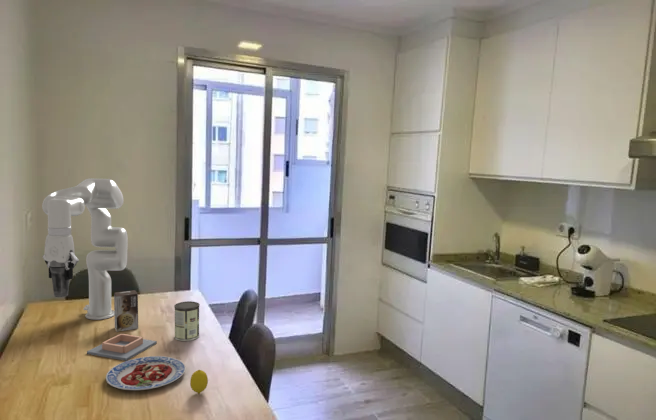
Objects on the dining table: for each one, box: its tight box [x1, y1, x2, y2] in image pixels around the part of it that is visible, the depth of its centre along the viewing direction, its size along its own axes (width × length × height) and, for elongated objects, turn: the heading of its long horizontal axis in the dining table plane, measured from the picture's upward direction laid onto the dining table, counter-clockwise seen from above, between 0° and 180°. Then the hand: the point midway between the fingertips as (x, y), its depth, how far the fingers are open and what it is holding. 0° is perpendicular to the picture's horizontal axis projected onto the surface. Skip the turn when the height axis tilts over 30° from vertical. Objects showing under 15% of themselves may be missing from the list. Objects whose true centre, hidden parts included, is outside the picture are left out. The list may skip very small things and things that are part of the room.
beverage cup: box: [49, 260, 70, 298], centre depth 175 cm, size 7×7×20 cm
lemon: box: [189, 369, 209, 394], centre depth 151 cm, size 6×6×8 cm
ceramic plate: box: [105, 355, 186, 391], centre depth 162 cm, size 26×26×3 cm
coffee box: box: [113, 289, 139, 333], centre depth 206 cm, size 9×6×16 cm
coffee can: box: [173, 300, 201, 342], centre depth 199 cm, size 10×10×14 cm
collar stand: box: [86, 333, 157, 362], centre depth 184 cm, size 18×18×4 cm
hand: (60, 278), depth 175 cm, fingers closed on beverage cup, 6 cm apart
